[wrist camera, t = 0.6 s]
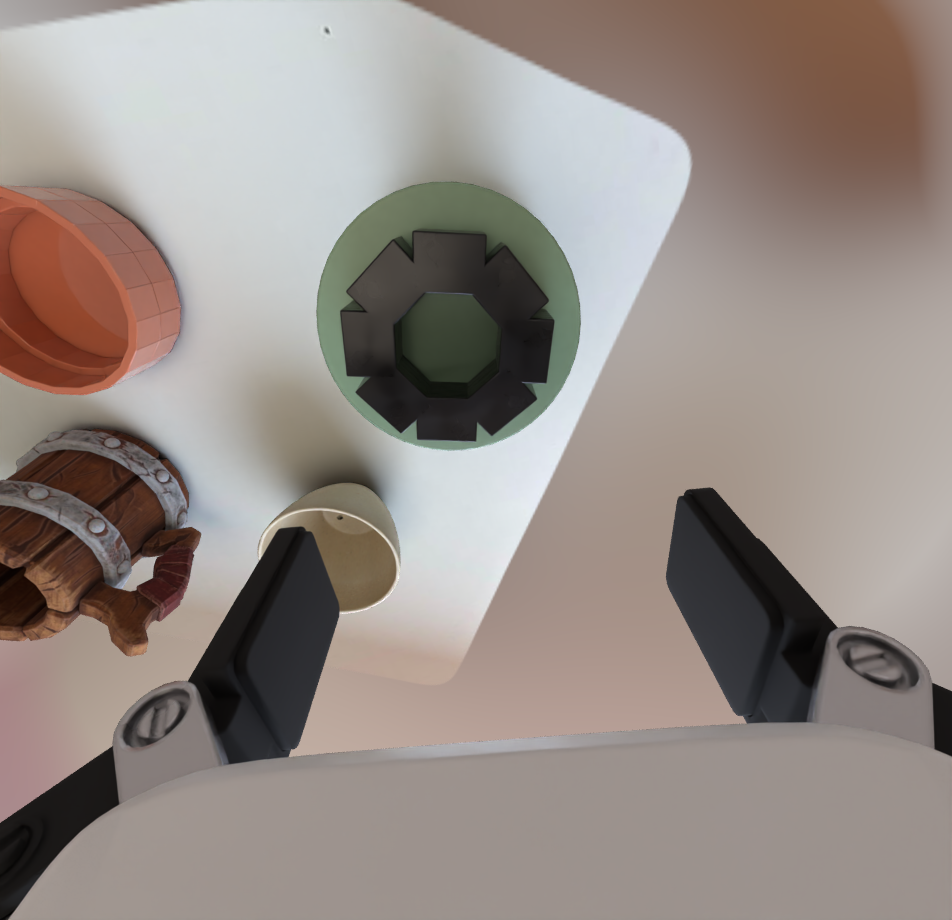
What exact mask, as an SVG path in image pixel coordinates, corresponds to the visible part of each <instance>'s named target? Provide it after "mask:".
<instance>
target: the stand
mask: <svg viewBox="0 0 952 920" xmlns="http://www.w3.org/2000/svg"><path fill="white" fill-rule="evenodd" d="M419 228H423V229H442V230H462V231H481V232H485V233H486V235H487V245H486V256H487V255H488V254H489V253H490V252H491V251H492V250H493V249H494V248H495V247H496V246H497V245H498V244H499V243H500V242H503V243H504V244H506V245H507V246H508V248H509V249H510V250H511V252H512V253H513V254H514V255H515V257H516V258H517V259H518V260H519V262H520V263H521V264H522V265H523V267H524V268H525V269H526V270H527V272H528V273H529V274H530V276H531V277H532V278H533V279H534V281H535V282H536V283H537V284H538V286H539V287H540V288H541V289H542V291H543V292H544V293H545V295H546V296H547V297H548V298H549V302H548V303H547V304H546V305H545V306H544V307H543V308H542V309H546V310H547V311H548V312H549V314H550V315H551V316H552V317H553V319H554V320H555V325H554V332H553V340H552V347H551V355H550V363H549V370H548V378H547V383H546V384H532V385H533V388H534V391H535V393H536V396H537V400H536V401H535V402H534V403H533V404H531V405H530V406H529V407H528V408H526V409H525V410H524V411H523V412H522V413H520V414H519V415H518V416H517V417H515V418H514V419H513V420H512V421H510V422H509V423H508V424H507V425H506V426H504V427H503V428H502V429H501V430H499V431H498V432H497V433H496V434H494V435H493V436H490V435H489V434H488V433H487V432H486V431H485V430H484V429H483V428H482V427H481V426H480V425H479V424H478V423H477V437H476V442H460V441H430V440H417V427H416V421H415V422H414V423H413V424H412V425H411V426H410V427H409V428H408V429H406V430H405V431H404V432H403V433H402V434H401V433H400V432H398V431H397V430H396V429H395V428H394V427H393V426H392V425H391V424H389V423H388V422H387V421H386V420H385V419H384V418H383V417H382V416H381V415H379V414H378V413H377V412H376V411H375V410H374V409H373V408H372V407H370V406H369V405H368V404H367V403H366V402H365V401H364V400H363V399H361V398H360V397H359V396H358V395H357V394H356V393H355V392H356V390H357V388H358V387H359V385H360V383H361V382H362V380H363V379H364V377H348V376H347V375H346V367H345V357H344V347H343V337H342V328H341V318H340V310H341V309H343V308H344V307H345V306H346V305H348V304H349V303H350V302H351V301H354V300H353V299H352V298H351V297H350V296H349V295H348V294H347V292H346V290H347V289H348V288H349V287H350V286H351V284H352V283H353V282H354V281H355V280H356V279H357V278H358V277H359V276H360V274H361V273H362V272H363V271H364V270H365V269H366V268H367V267H368V266H369V264H370V263H371V262H372V261H373V260H374V259H375V258H376V257H377V256H378V254H379V253H380V252H381V251H382V250H383V249H384V248H385V247H386V246H387V244H388V243H389V242H390V241H391V240H392V239H395V238H397V237H400V236H401V237H402V238H403V239H404V240H405V241H406V242H407V243H408V244H409V246H410V247H411V248H412V231H414V230H416V229H419ZM316 313H317V329H318V335H319V340H320V345H321V349H322V352H323V355H324V358H325V361H326V364H327V366H328V368H329V370H330V373H331V375H332V377H333V379H334V381H335V382H336V384H337V385H338V387H339V389H340V390H341V392H342V393H343V395H344V396H345V397H346V398H347V400H348V401H349V402H350V403H351V405H352V406H353V407H354V408H355V409H356V410H357V411H358V412H359V413H360V414H361V415H362V416H363V417H364V418H366V419H367V420H368V421H370V422H371V423H372V424H373V425H375V426H376V427H377V428H379V429H381V430H382V431H384V432H386V433H387V434H389V435H391V436H393V437H395V438H397V439H400V440H402V441H404V442H407V443H410V444H413V445H416V446H420V447H424V448H429V449H436V450H447V451H452V450H468V449H475V448H480V447H484V446H487V445H491V444H494V443H496V442H499V441H502V440H504V439H506V438H508V437H510V436H512V435H514V434H516V433H518V432H519V431H521V430H522V429H524V428H525V427H526V426H528V425H529V424H531V423H532V422H533V421H534V420H535V419H536V418H538V417H539V416H540V415H541V414H542V413H543V412H544V411H545V410H546V409H547V407H548V406H549V405H550V404H551V403H552V402H553V400H554V399H555V397H556V396H557V395H558V393H559V392H560V390H561V389H562V387H563V385H564V383H565V381H566V379H567V377H568V375H569V373H570V371H571V368H572V365H573V362H574V360H575V356H576V352H577V348H578V343H579V335H580V325H581V320H580V303H579V297H578V291H577V286H576V283H575V280H574V276H573V273H572V270H571V268H570V266H569V263H568V261H567V259H566V257H565V255H564V253H563V251H562V250H561V248H560V246H559V245H558V243H557V242H556V240H555V239H554V237H553V236H552V235H551V233H550V232H549V231H548V230H547V229H546V228H545V226H544V225H543V224H542V223H541V222H540V221H539V220H538V219H537V218H536V217H534V216H533V215H532V214H531V213H530V212H529V211H528V210H527V209H525V208H524V207H522V206H521V205H519V204H518V203H516V202H515V201H513V200H511V199H510V198H508V197H506V196H504V195H501V194H499V193H497V192H495V191H493V190H490V189H487V188H483V187H480V186H477V185H473V184H467V183H459V182H430V183H424V184H418V185H413V186H410V187H407V188H404V189H401V190H398V191H395V192H393V193H391V194H389V195H387V196H386V197H384V198H382V199H380V200H378V201H376V202H375V203H374V204H372V205H371V206H370V207H368V208H367V209H366V210H364V211H363V212H362V213H360V214H359V215H358V216H357V217H356V218H355V220H354V221H353V222H352V223H351V224H350V225H349V226H348V227H347V228H346V229H345V231H344V232H343V234H342V235H341V236H340V238H339V239H338V240H337V242H336V244H335V245H334V247H333V249H332V251H331V253H330V255H329V257H328V259H327V262H326V265H325V267H324V270H323V273H322V276H321V280H320V285H319V290H318V297H317V312H316ZM401 321H402V348H403V355H404V356H405V357H406V358H407V359H408V360H409V361H410V362H411V363H412V364H413V365H414V366H415V367H416V368H417V369H418V370H419V371H420V372H421V373H423V374H424V375H425V376H426V377H427V378H428V379H429V380H430V381H438V382H464V383H468V382H469V381H470V380H471V379H472V378H473V377H475V376H476V375H477V374H478V373H479V372H480V371H481V370H482V369H484V368H485V367H486V366H487V365H488V364H489V363H490V362H491V361H493V360H494V359H495V358H496V344H497V329H498V325H497V323H496V322H495V321H494V320H493V319H492V318H491V317H490V315H489V314H488V313H487V312H486V311H485V310H484V309H483V307H482V306H481V305H480V304H479V303H478V302H477V301H476V299H475V298H474V297H473V296H472V295H460V294H438V293H425V294H424V295H423V296H422V297H421V298H420V299H419V300H418V301H417V302H416V303H415V305H414V306H413V307H412V308H411V309H410V310H409V311H408V312H407V313H406V314H405V315H404V316H403V317H402V318H401Z"/></svg>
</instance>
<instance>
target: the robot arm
mask: <svg viewBox="0 0 952 920" xmlns="http://www.w3.org/2000/svg"><path fill="white" fill-rule="evenodd" d="M666 580H667V585H668V588H669V590H670V592H671V594H672V596H673V598H674V599H675V601H676V603H677V605H678V607H679V609H680V611H681V613H682V615H683V617H684V618H685V620H686V622H687V624H688V626H689V628H690V630H691V632H692V634H693V636H694V638H695V640H696V641H697V643H698V645H699V647H700V649H701V651H702V653H703V655H704V657H705V659H706V661H707V662H708V664H709V666H710V668H711V670H712V672H713V674H714V676H715V678H716V680H717V681H718V683H719V685H720V687H721V689H722V691H723V693H724V695H725V697H726V699H727V701H728V702H729V704H730V706H731V708H732V709H733V711H734V712H735V714H736V715H738V716H743V717H744V719H745V720H746V722H747V724H730V725H710V726H690V727H675V728H662V729H646V730H632V731H618V732H603V733H589V734H574V735H561V736H547V737H534V738H519V739H507V740H506V739H505V740H493V741H479V742H465V743H452V744H439V745H427V746H414V747H401V748H389V749H376V750H363V751H351V752H338V753H326V754H317V755H306V756H296V757H289V754H290V751H291V749H295V748H297V746H298V744H299V742H300V739H301V736H302V733H303V730H304V727H305V723H306V720H307V717H308V713H309V711H310V707H311V704H312V701H313V698H314V695H315V691H316V688H317V685H318V682H319V679H320V676H321V672H322V669H323V666H324V663H325V660H326V657H327V653H328V650H329V647H330V644H331V641H332V637H333V634H334V631H335V628H336V625H337V621H338V618H339V613H340V607H339V602H338V599H337V597H336V594H335V591H334V589H333V586H332V583H331V581H330V578H329V575H328V573H327V570H326V567H325V564H324V562H323V559H322V556H321V554H320V551H319V548H318V546H317V543H316V540H315V538H314V535H313V533H312V532H311V531H306V529H305V528H304V527H302V526H298V527H288V528H280V529H278V530H277V532H276V533H275V535H274V537H273V538H272V540H271V542H270V543H269V545H268V547H267V549H266V550H265V552H264V554H263V555H262V557H261V559H260V561H259V562H258V564H257V566H256V567H255V569H254V571H253V572H252V574H251V576H250V578H249V579H248V581H247V583H246V584H245V586H244V587H243V589H242V590H241V592H240V593H239V595H238V597H237V598H236V600H235V602H234V604H233V605H232V607H231V609H230V610H229V612H228V614H227V615H226V617H225V619H224V621H223V622H222V624H221V626H220V627H219V629H218V631H217V632H216V634H215V636H214V638H213V639H212V641H211V643H210V644H209V646H208V648H207V649H206V651H205V653H204V655H203V656H202V658H201V660H200V661H199V663H198V665H197V666H196V668H195V670H194V671H193V673H192V675H191V677H190V678H189V680H188V681H174V682H171V683H167V684H164V685H162V686H160V687H158V688H156V689H154V690H152V691H150V692H149V693H147V694H146V695H144V696H143V697H142V698H140V699H139V700H138V701H137V702H136V703H135V704H134V705H133V706H132V707H130V708H129V709H128V710H127V712H126V713H125V715H124V716H123V717H122V718H121V720H120V721H119V723H118V725H117V727H116V730H115V732H114V736H113V746H112V747H111V748H109V749H108V750H106V751H105V752H103V753H102V754H100V755H99V756H97V757H96V758H94V759H93V760H92V761H90V762H89V763H87V764H86V765H84V766H83V767H81V768H80V769H78V770H77V771H76V772H74V773H73V774H71V775H70V776H68V777H67V778H65V779H64V780H62V781H61V782H60V783H58V784H56V785H55V786H53V787H52V788H51V789H49V790H48V791H46V792H45V793H43V794H42V795H40V796H39V797H37V798H36V799H34V800H33V801H32V802H30V803H29V804H27V805H26V806H24V807H23V808H21V809H20V810H18V811H17V812H16V813H14V814H13V815H11V816H10V817H8V818H7V819H5V820H4V821H2V822H1V823H0V920H952V691H950V690H948V689H945V688H943V687H941V686H938V685H936V684H934V683H932V680H931V676H930V673H929V670H928V669H927V667H926V666H925V665H924V663H923V662H922V660H921V659H920V658H919V657H918V656H917V655H916V654H915V653H913V652H912V651H911V650H910V649H909V648H907V647H906V646H905V645H903V644H902V643H900V642H899V641H897V640H895V639H894V638H892V637H889V636H887V635H885V634H883V633H880V632H878V631H875V630H871V629H867V628H864V627H854V626H847V627H841V628H838V627H837V626H836V625H835V624H834V623H833V622H832V621H831V619H829V617H828V616H827V615H826V614H825V613H824V612H823V610H822V609H821V608H820V607H819V606H818V605H817V603H816V602H815V601H814V600H813V599H812V598H811V597H810V595H809V594H808V593H807V592H806V591H805V590H804V589H803V587H802V586H801V585H800V584H799V583H798V582H797V581H796V579H795V578H794V577H793V576H792V575H791V574H790V573H789V571H788V570H787V569H786V568H785V567H784V566H783V565H782V563H781V562H780V561H779V560H778V559H777V558H776V557H775V555H774V554H773V553H772V552H771V551H770V550H769V549H768V547H767V546H766V545H765V544H764V543H763V542H762V541H760V539H758V538H756V537H755V536H754V535H753V533H752V532H751V531H750V530H749V529H748V528H747V527H746V525H745V524H744V523H743V522H742V521H741V520H740V519H739V517H738V516H737V515H736V514H735V513H734V512H733V511H732V509H731V508H730V507H729V506H728V505H727V504H726V502H725V501H724V500H723V499H722V498H721V497H720V495H719V494H718V493H717V492H716V491H715V490H714V489H713V488H700V489H689V490H687V491H686V492H685V493H684V496H680V497H679V498H678V500H677V505H676V512H675V519H674V525H673V532H672V539H671V545H670V552H669V558H668V565H667V572H666Z"/></svg>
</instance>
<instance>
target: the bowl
mask: <svg viewBox="0 0 952 920" xmlns="http://www.w3.org/2000/svg"><path fill="white" fill-rule="evenodd" d="M180 306H181V305H180V301H179V298H178V294H177V290H176V287H175V283H174V279H173V277H172V275H171V273H170V271H169V270H168V268H167V266H166V264H165V263H164V261H163V259H162V257H161V256H160V254H159V252H158V250H157V249H156V248H155V247H154V246H153V245H152V244H151V242H150V241H149V240H148V239H147V238H146V237H145V236H144V235H143V234H142V233H141V232H140V231H139V230H138V228H137V227H136V226H135V225H134V224H133V223H131V221H129V220H128V219H126V218H125V217H123V216H122V215H121V214H119V213H118V212H116V211H115V210H113V209H112V208H110V207H109V206H107V205H106V204H105V203H103V202H101V201H99V200H97V199H94V198H91V197H88V196H86V195H83V194H80V193H78V192H75V191H72V190H70V189H62V188H43V187H24V186H4V185H0V372H1V373H2V374H4V375H6V376H8V377H10V378H12V379H14V380H16V381H17V382H19V383H21V384H24V385H26V386H30V387H33V388H37V389H40V390H43V391H47V392H50V393H54V394H68V395H87V394H91V393H94V392H97V391H101V390H104V389H108V388H110V387H112V386H114V385H116V384H118V383H120V382H122V381H124V380H126V379H128V378H130V377H132V376H134V375H136V374H138V373H140V372H142V371H144V370H146V369H148V368H150V367H152V366H154V365H155V364H157V363H158V362H159V361H160V360H161V359H163V358H164V357H165V356H166V355H167V354H169V352H171V350H172V348H173V346H174V343H175V341H176V339H177V337H178V335H179V333H180V332H179V331H180V313H181V307H180Z"/></svg>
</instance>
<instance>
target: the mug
mask: <svg viewBox="0 0 952 920" xmlns="http://www.w3.org/2000/svg"><path fill="white" fill-rule="evenodd" d="M159 454H160V453H159V452H158V451H156V450H155V449H153V448H152V447H150V446H149V445H147V444H146V443H145V442H143V441H141V440H139V439H136V438H133V437H131V436H128V435H125V434H123V433H120V432H117V431H112V430H103V429H93V430H92V431H89V430H87V429H84V430H71V431H67V432H63V433H60V432H52V433H50V434H49V435H48V437H47V438H46V439H45V440H43V441H42V442H40V443H39V444H37V445H36V446H35V447H34V448H32V449H31V450H30V451H29V452H27V453H26V454H25V455H24V456H23V457H21V458H19V459H18V460H17V462H16V464H17V466H18V467H17V471H16V473H15V474H13V475H12V476H11V477H9V478H8V479H6V480H1V481H0V640H10V641H25V640H26V639H27V638H29V639H30V640H31V641H32V640H39V639H44V638H50V637H52V636H54V635H56V634H57V633H59V632H60V631H62V630H64V629H65V628H66V627H67V626H68V625H69V624H71V622H73V621H74V620H75V619H76V618H77V617H78V616H79V615H80V614H82V615H85V616H89V617H93V618H95V619H97V620H99V621H100V622H102V623H104V624H105V625H107V626H108V628H109V633H110V636H111V641H112V642H113V643H114V644H115V645H116V646H117V647H118V648H119V649H120V650H121V651H122V652H123V653H124V654H125V655H126V656H136V655H141V654H144V653H145V652H146V649H147V645H148V637H147V633H146V629H147V628H148V626H149V625H150V623H152V622H153V621H154V620H156V621H159V622H160V621H161V620H162V619H164V618H165V617H166V616H167V615H168V614H170V613H171V612H172V611H173V610H174V609H175V608H177V607H178V606H179V605H180V601H181V600H182V599H183V596H184V592H186V589H187V586H188V582H189V578H190V573H191V567H192V561H193V557H194V554H193V552H194V551H195V549H196V548H197V546H198V544H199V541H200V537H201V533H200V532H199V531H197V530H196V529H194V528H193V527H188V528H183V527H184V525H185V523H186V521H187V508H188V507H189V493H188V491H187V488H186V486H185V484H184V482H183V479H182V477H181V475H180V473H179V472H178V471H177V470H176V469H175V468H174V466H173V465H172V464H171V463H170V462H169V461H168V460H167V459H163V460H160V459H158V457H159ZM161 555H162V556H161ZM155 556H159V557H157V559H156V561H155V565H154V572H153V578H152V579H150V580H148V581H146V582H144V583H142V584H140V585H139V586H137V590H136V591H131V592H130V591H126V590H122V588H123V587H124V585H125V583H126V581H127V579H128V577H129V575H130V574H131V572H132V568H131V567H132V566H133V565H134V564H135V563H136V562H137V561H138V560H140V559H141V558H146V557H155Z"/></svg>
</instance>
